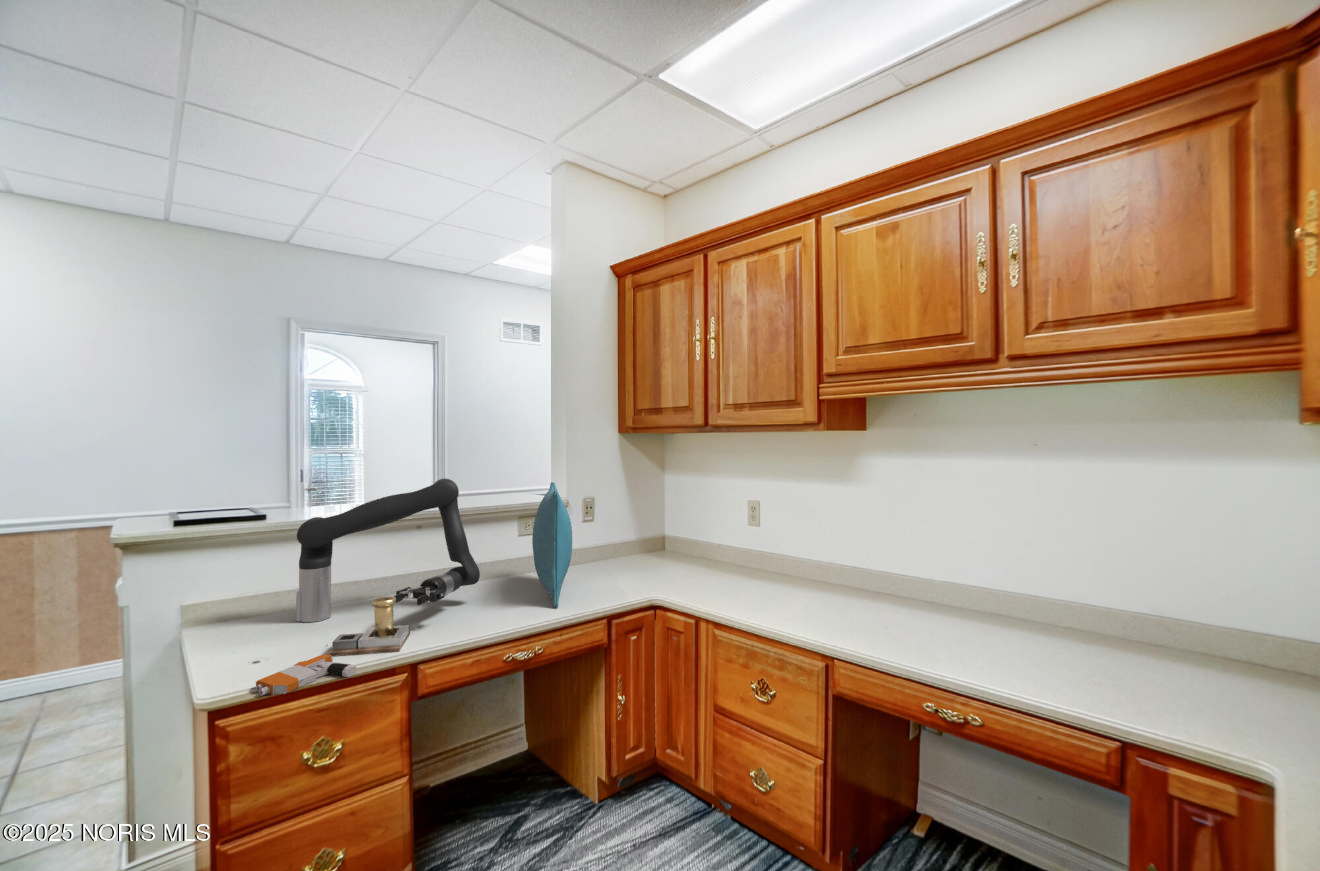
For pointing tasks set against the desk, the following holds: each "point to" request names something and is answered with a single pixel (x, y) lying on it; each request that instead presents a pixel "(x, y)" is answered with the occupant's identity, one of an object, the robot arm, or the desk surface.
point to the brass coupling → (384, 615)
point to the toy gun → (302, 675)
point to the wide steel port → (383, 638)
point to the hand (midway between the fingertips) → (405, 600)
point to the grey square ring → (346, 642)
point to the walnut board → (368, 650)
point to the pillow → (552, 542)
